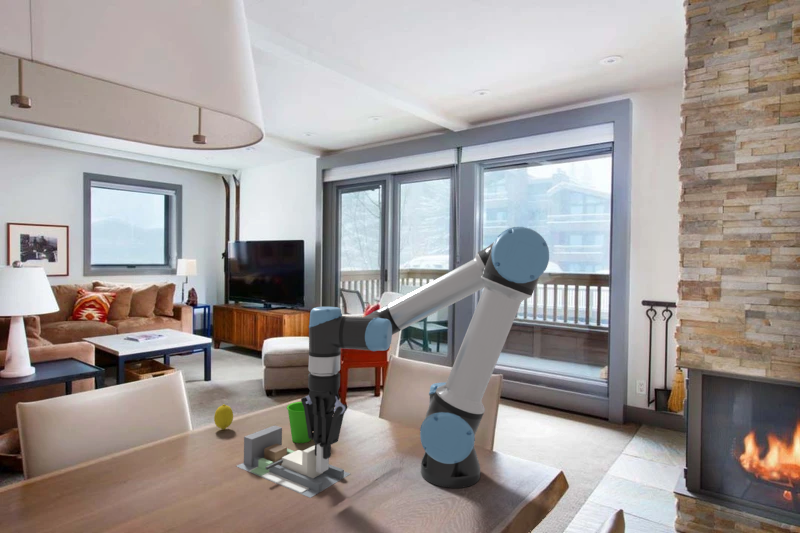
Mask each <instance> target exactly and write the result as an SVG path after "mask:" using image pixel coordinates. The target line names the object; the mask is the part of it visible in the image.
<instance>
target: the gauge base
mask: <svg viewBox="0 0 800 533" xmlns="http://www.w3.org/2000/svg"><path fill="white" fill-rule="evenodd" d="M274 444H279V445H282V444H283V427H281V426H278V425H272V426H269V427H266V428H263V429H260V430H259V431H255V432H253V433H250V434H247V435H244V437H243V462H242V463H240V464H237V465H235V467H237V468H238V469H241V470H242V471H243V470H244V471H246V472H248V473H251V474H253V475H255V476H258V477H259V478H262V479H265V480H266V481H270V482H272V483H274V484H276V485H279V486H280V487H284V488H286V489H289V490H291V491H293V492H295V493H297V494H300V495H302V496H303V497H304V496H305V497H307V498H309V499H311V498H313V497H315V496H316V495H318V494H319V493H321V492H324V490H326V489H328V488H330V487H331V486H333V485H335V484H336V483H339V482H340V481H341V480H343V479H344V478H346V477H348V476H350V475H351V473H350V472H347V471H345V469H344V468H340V467H338V466H336V465H332V464H329V469H328V470H326V471H324V472H323V473H322V474H320V475H319V476H317V477H315V478H311V477H308V476H305V475H303V474H300V473H298V472H295V471H293V470H290V469H288V468H285V467H282V465H281V466H280V465H276V466H274V467H272V468H270V469H268V470H266V466H268V465H270V464H272V463H273V462H272V461H270V460H267V459H264V449H265V448H267V447H269V446H272V445H274ZM282 446H283V445H282ZM295 451H296V450H292V449H290V448H287V455H288V454H290V453H293V452H295Z"/></svg>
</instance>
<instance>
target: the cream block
mask: <svg viewBox="0 0 800 533" xmlns="http://www.w3.org/2000/svg"><path fill="white" fill-rule="evenodd" d="M294 451H295V452H293V453H290V454H288V455H286V456H284V457H282V460H279V461H277V462H275V463H272V464H270V465H268V466H266V470H268V469H270V468H272V467H274V466H276V465H279V464H281V463H282V467H285V468H288V469H290V470H293V471H295V472H298V473H300V474H303V475H305V476H308V477H311V478H315V477H317V476H319V475H320V474H322V473H318V472H316V456H315V444H314V445H312V446H309V447H308V448H306V449H304V450H300V449H297V450H294Z"/></svg>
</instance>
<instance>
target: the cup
mask: <svg viewBox="0 0 800 533" xmlns="http://www.w3.org/2000/svg"><path fill="white" fill-rule="evenodd" d="M286 410H287V413H288V418H289V427H290V432H291V435H290V436H291V440H292V442H293V443H295V444H305V443H309V442H311V441H312V439H309V437H308V431H307V425H306V418H305V411H304V406H303V404H302V402H301V401H296V402H293V403H290V404H289V403H288V405H287V407H286Z"/></svg>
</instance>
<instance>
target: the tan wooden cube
mask: <svg viewBox="0 0 800 533" xmlns="http://www.w3.org/2000/svg"><path fill="white" fill-rule="evenodd" d="M287 449H288V446H284V445H279V444H274V445H272V446H269V447H267V448H265V449H264V459H267V460H270V461H272V462H273V463H275V462H277V461H279V460H282V457H284V456H286V455H287ZM279 465H280V466H281V465H282V463H281V464H279Z"/></svg>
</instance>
